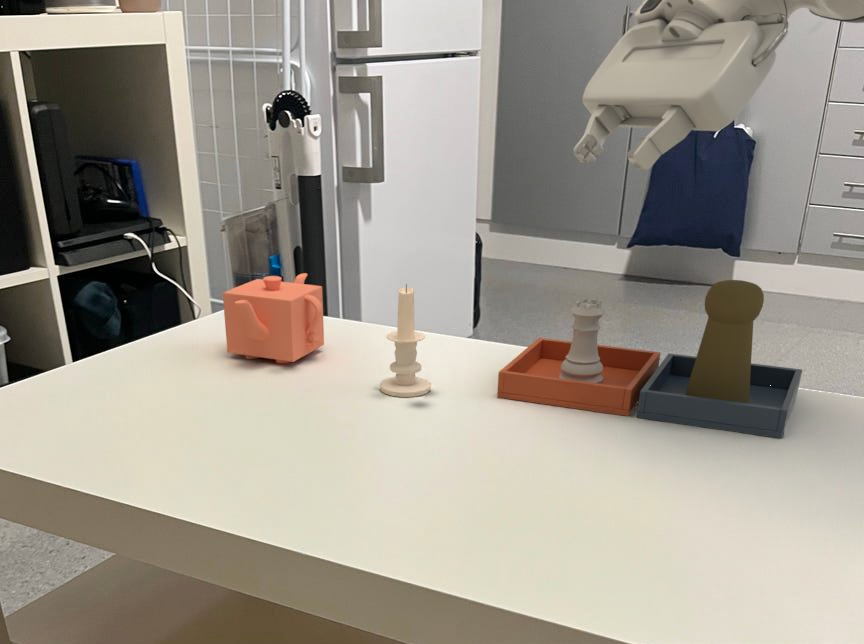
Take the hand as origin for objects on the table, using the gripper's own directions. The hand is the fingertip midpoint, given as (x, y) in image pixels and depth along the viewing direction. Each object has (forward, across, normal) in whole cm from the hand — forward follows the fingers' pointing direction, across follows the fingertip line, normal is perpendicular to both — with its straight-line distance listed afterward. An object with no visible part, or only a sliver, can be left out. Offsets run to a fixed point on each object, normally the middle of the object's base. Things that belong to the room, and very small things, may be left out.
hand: (607, 161), depth 86 cm
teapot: (+31, +29, +4) cm, 42 cm away
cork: (+7, -1, -24) cm, 25 cm away
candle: (+25, +13, -4) cm, 29 cm away
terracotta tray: (+14, +8, -17) cm, 23 cm away
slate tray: (+7, -2, -25) cm, 26 cm away
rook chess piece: (+13, +8, -17) cm, 23 cm away
